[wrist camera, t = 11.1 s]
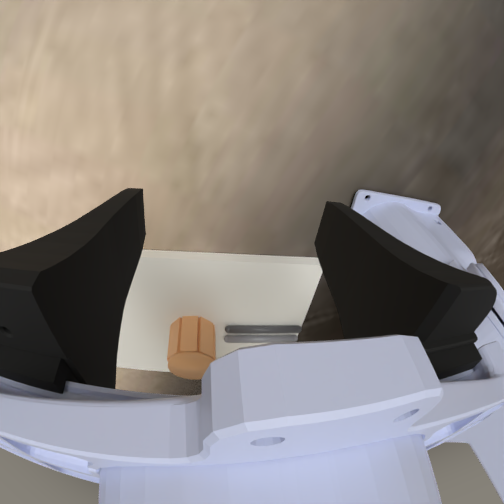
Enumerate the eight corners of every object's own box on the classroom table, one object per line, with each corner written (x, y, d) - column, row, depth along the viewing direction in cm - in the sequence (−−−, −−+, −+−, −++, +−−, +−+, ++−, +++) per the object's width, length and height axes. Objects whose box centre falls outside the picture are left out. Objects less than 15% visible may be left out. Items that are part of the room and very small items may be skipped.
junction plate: (321, 257, 25) (335, 289, 22) (280, 366, 36) (285, 392, 33) (71, 245, 22) (54, 276, 19) (111, 359, 33) (106, 386, 29)
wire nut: (213, 315, 27) (213, 355, 24) (216, 341, 30) (218, 378, 26) (167, 316, 27) (162, 355, 23) (175, 343, 29) (173, 379, 26)
